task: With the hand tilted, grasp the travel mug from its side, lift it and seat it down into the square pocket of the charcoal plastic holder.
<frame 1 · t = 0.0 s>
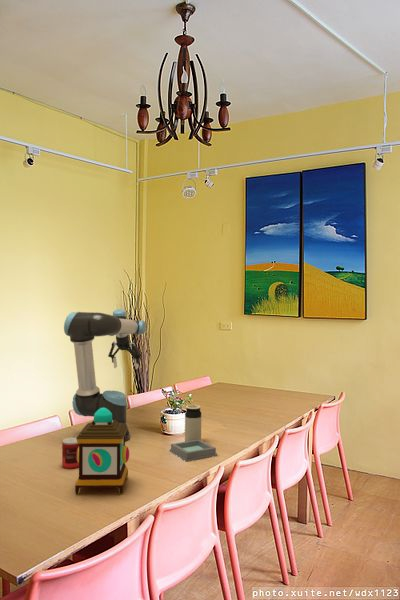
hand: (126, 367, 303), 28 cm above the table, tool tilted 20°, fingers open, 13 cm apart
holder: (193, 453, 232), on the table
decorative lantern: (102, 486, 193), on the table
travel mug: (192, 443, 248), on the table
canned food: (71, 466, 214), on the table
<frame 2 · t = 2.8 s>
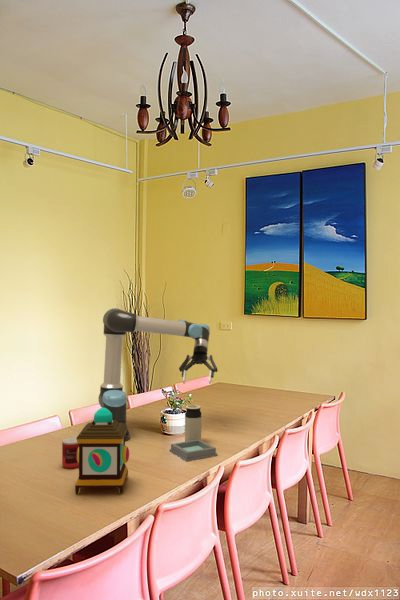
hand: (196, 382, 260), 28 cm above the table, tool tilted 45°, fingers open, 13 cm apart
nothing on the table moved.
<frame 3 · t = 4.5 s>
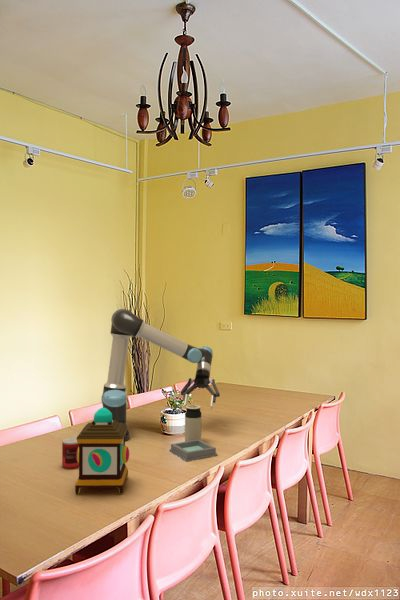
hand: (198, 407, 255), 16 cm above the table, tool tilted 45°, fingers open, 13 cm apart
nothing on the table moved.
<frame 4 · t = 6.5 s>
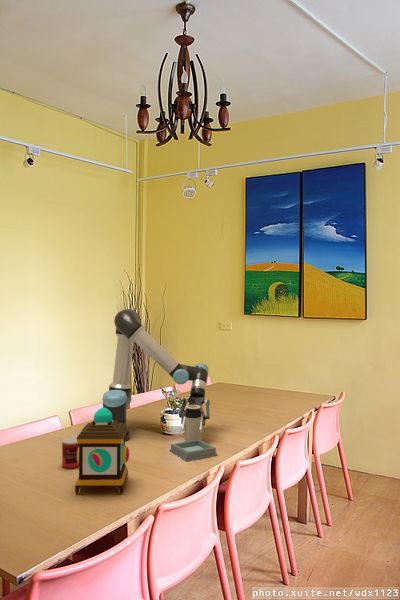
hand: (191, 430, 244), 7 cm above the table, tool tilted 45°, fingers closed on travel mug, 8 cm apart
travel mug: (192, 443, 248), on the table, touching gripper
everything else where it was.
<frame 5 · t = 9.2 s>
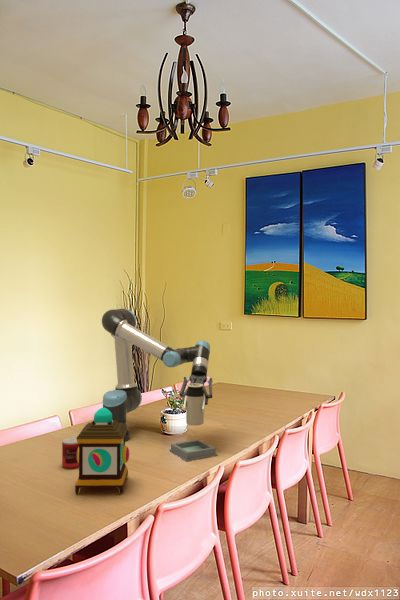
hand: (193, 409, 230), 21 cm above the table, tool tilted 45°, fingers closed on travel mug, 8 cm apart
travel mug: (194, 423, 233), point 13 cm above the table, touching gripper
everything else where it was.
when the fingers open (10 cm above the table, at t = 11.8 s): travel mug drops 2 cm, resting on holder.
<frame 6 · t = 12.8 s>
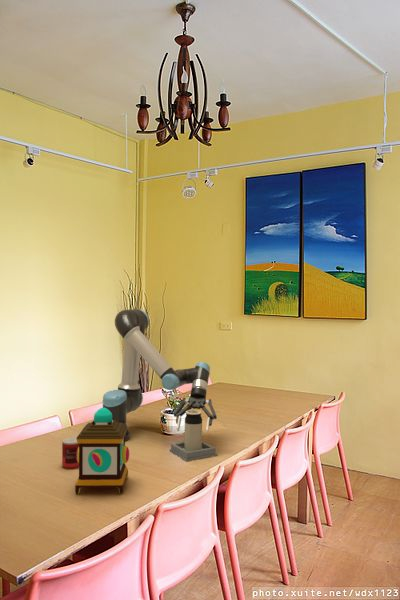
hand: (192, 430, 229), 11 cm above the table, tool tilted 45°, fingers open, 13 cm apart
travel mug: (193, 451, 232), point 1 cm above the table, touching holder
everything else where it was.
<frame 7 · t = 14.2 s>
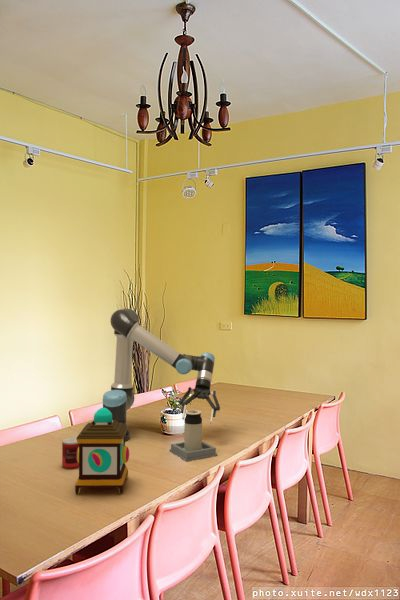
hand: (197, 420, 244), 12 cm above the table, tool tilted 40°, fingers open, 13 cm apart
nothing on the table moved.
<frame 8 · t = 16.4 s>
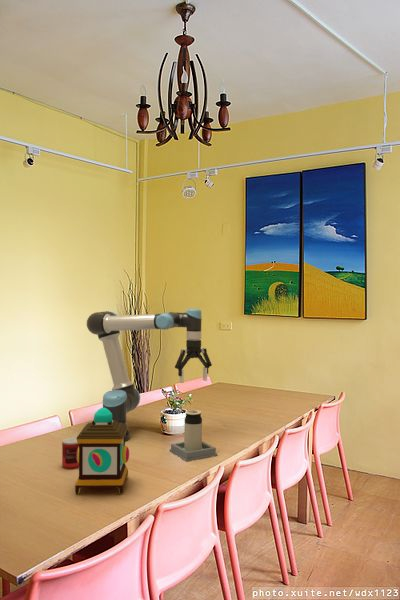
hand: (193, 381, 255), 29 cm above the table, tool pointing down, fingers open, 13 cm apart
nothing on the table moved.
at the end: travel mug 0.1 cm off-centre on the holder, point 1.0 cm above the holder's base; travel mug tilted 0°; the gripper is holding nothing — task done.
